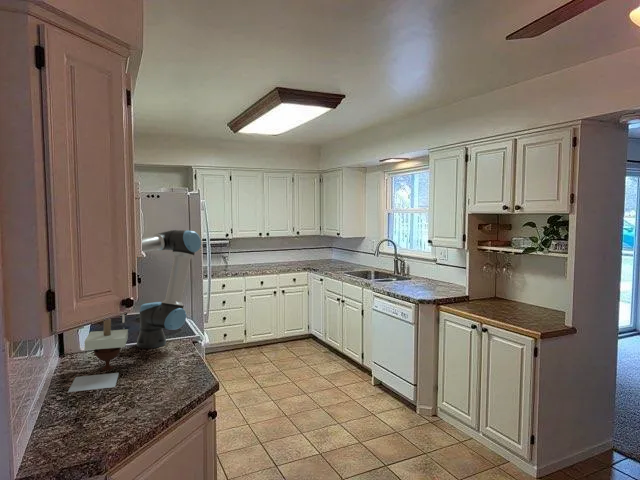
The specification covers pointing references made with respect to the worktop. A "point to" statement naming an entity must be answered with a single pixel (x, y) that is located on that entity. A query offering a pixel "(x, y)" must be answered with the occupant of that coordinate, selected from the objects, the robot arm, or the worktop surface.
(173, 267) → the robot arm
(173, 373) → the worktop surface
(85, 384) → the mat
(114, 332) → the white knobbed square piece
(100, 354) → the ice cream bowl
